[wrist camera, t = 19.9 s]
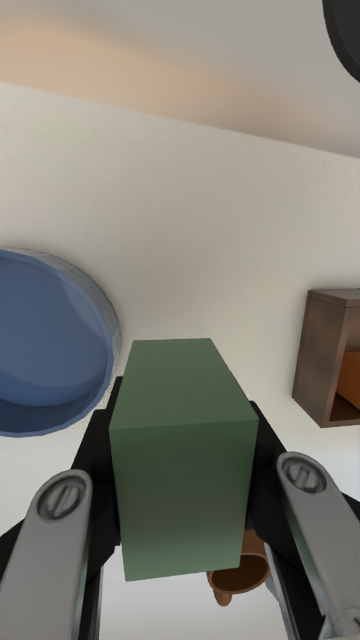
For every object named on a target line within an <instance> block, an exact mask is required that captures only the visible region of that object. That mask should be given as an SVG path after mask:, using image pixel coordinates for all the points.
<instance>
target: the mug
mask: <svg viewBox="0 0 360 640" xmlns="http://www.w3.org/2000/svg"><path fill="white" fill-rule="evenodd" d="M206 573H207V578H208V582H209V584H210V586H211V587H212V588H213V592H214V596H215V598H216V600H217V602H218V604H219V605H221V606H227V605H228V604H229V603H230V601H231V598H232V594H240V593H245V592H248V591H250V590H253V589H254V588H256V587H258V586H260V585H261V584H262V583H263V582H264V581H265V580H266V579H267V578H268V577H269V575H270V573H271V570H270V566H269V562H268V559H267V555H266V551H265V547H264V541H263V540H261V539H260V538H259V537H258V536H256V533H255V530H250V531H246V530H245V527H244V533H243V540H242V548H241V555H240V563H239V567H237V568H229V569H221V570H214V571H206Z"/></svg>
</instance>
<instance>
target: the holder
mask: <svg viewBox="0 0 360 640" xmlns="http://www.w3.org/2000/svg"><path fill="white" fill-rule="evenodd" d="M356 351H360V289H328V290H309V291H308V298H307V304H306V310H305V317H304V323H303V330H302V336H301V342H300V349H299V355H298V362H297V368H296V374H295V381H294V387H293V394H292V398H293V399H294V400H295V401H296V402H297V403H298V404H299V405H300V406H301V408H302V409H303V410H304V411H305V412H306V413H307V414H308V415H309V416H310V417H311V418H312V419H313V420H314V421H315V422H316V423H317V424H318V426H319V427H320V428H329V427H340V426H351V425H360V410H359V409H358V408H357V407H355V406H354V405H353V404H351V403H350V402H349V401H347V400H346V399H345V398H344V397H342V396H341V395H340V394H338V393H337V392H336V387H337V382H338V378H339V373H340V369H341V364H342V360H343V355H344V352H356Z"/></svg>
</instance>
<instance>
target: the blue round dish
mask: <svg viewBox="0 0 360 640" xmlns="http://www.w3.org/2000/svg"><path fill="white" fill-rule="evenodd" d="M119 351H120V329H119V323H118V320H117V317H116V314H115V311H114V309H113V307H112V305H111V303H110V301H109V300H108V298H107V297H106V295H105V294H104V292H103V291H102V290H101V289H100V287H99V286H98V285H97V284H96V283H95V282H94V281H93V280H92V279H91V278H90V277H89V276H88V275H86V274H85V273H84V272H82V271H81V270H80V269H78V268H77V267H75V266H73V265H72V264H70V263H68V262H66V261H64V260H62V259H59V258H57V257H55V256H52V255H48V254H45V253H42V252H36V251H31V250H27V249H3V248H0V436H5V437H14V438H20V437H32V436H42V435H46V434H49V433H53V432H56V431H59V430H63V429H66V428H67V427H69V426H71V425H72V424H74V423H76V422H78V421H79V420H81V419H83V418H84V417H85V416H86V415H87V414H88V413H89V412H90V411H91V410H92V409H93V408H94V407H95V406H96V405H97V404H98V403H99V402H100V401H101V399H102V397H103V395H104V393H105V391H106V389H107V387H108V386H109V384H110V381H111V378H112V376H113V373H114V370H115V367H116V365H117V360H118V356H119Z"/></svg>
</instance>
